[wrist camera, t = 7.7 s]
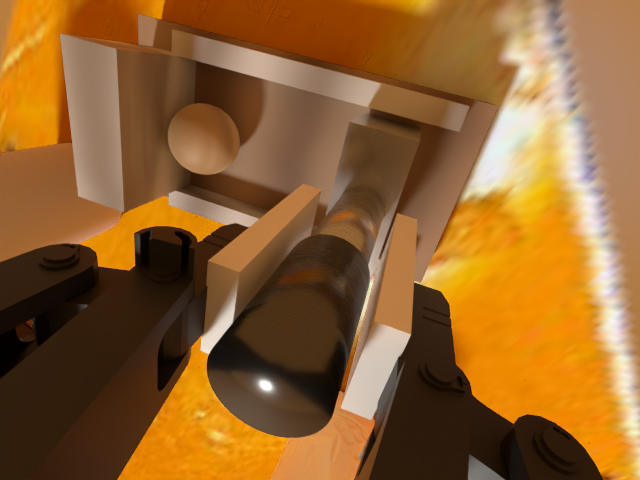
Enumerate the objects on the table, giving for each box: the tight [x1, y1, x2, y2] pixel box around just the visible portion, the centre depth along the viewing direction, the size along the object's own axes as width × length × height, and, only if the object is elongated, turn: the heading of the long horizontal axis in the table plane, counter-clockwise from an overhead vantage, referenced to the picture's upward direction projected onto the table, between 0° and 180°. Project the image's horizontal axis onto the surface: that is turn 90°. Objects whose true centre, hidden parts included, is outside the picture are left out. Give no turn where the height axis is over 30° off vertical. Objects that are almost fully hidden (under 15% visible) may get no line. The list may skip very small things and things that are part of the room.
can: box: [0, 143, 122, 262], centre depth 24 cm, size 8×8×12 cm
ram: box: [207, 113, 421, 438], centre depth 13 cm, size 3×7×16 cm, turn 167°
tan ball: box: [168, 103, 240, 175], centre depth 20 cm, size 4×4×4 cm
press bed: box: [60, 14, 498, 283], centre depth 19 cm, size 21×11×8 cm, turn 77°
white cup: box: [270, 391, 375, 480], centre depth 28 cm, size 8×8×10 cm
